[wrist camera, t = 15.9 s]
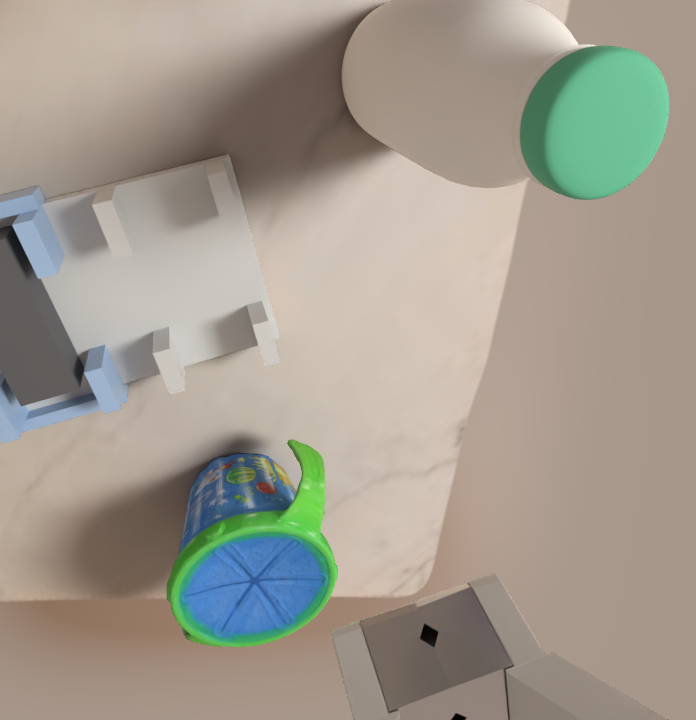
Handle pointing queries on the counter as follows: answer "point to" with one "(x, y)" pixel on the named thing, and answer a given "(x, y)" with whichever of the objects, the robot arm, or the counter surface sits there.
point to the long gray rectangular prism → (32, 331)
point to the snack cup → (252, 551)
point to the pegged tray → (141, 282)
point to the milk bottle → (504, 96)
